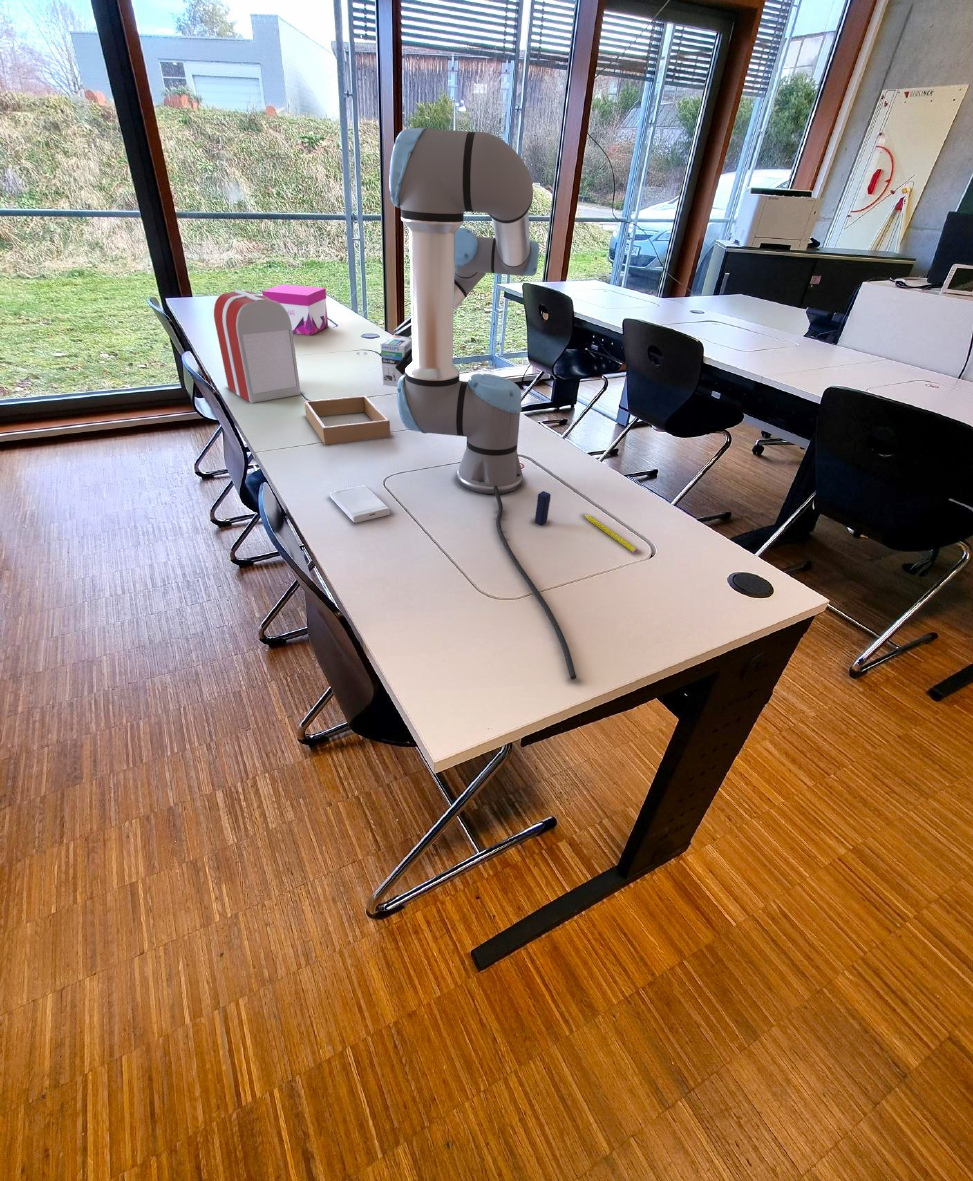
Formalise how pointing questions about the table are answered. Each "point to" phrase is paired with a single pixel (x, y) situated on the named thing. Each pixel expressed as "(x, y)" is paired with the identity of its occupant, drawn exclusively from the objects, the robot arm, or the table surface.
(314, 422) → the shallow wooden tray
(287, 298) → the decorative box
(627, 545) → the pencil
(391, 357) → the light bulb box
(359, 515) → the hard drive
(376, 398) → the table surface
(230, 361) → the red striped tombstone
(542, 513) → the navy blue rectangular block
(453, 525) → the table surface
